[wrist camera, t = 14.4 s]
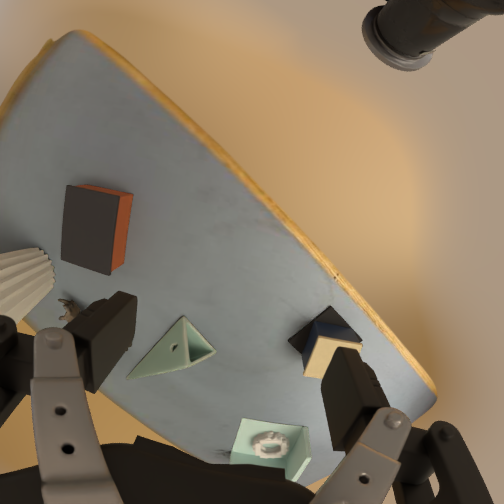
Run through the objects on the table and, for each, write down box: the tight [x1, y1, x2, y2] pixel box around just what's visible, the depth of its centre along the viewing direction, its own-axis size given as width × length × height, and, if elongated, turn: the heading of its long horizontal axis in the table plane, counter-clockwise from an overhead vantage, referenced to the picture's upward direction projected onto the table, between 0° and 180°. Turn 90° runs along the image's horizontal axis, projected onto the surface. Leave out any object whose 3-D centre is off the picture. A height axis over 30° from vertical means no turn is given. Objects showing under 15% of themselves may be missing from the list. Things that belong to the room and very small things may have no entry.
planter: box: [126, 316, 216, 380], centre depth 44 cm, size 8×6×18 cm
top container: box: [302, 321, 363, 379], centre depth 39 cm, size 6×6×5 cm
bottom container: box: [61, 185, 133, 276], centre depth 37 cm, size 10×8×5 cm
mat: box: [288, 306, 363, 354], centre depth 42 cm, size 8×8×1 cm
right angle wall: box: [229, 418, 312, 482], centre depth 45 cm, size 12×12×8 cm
